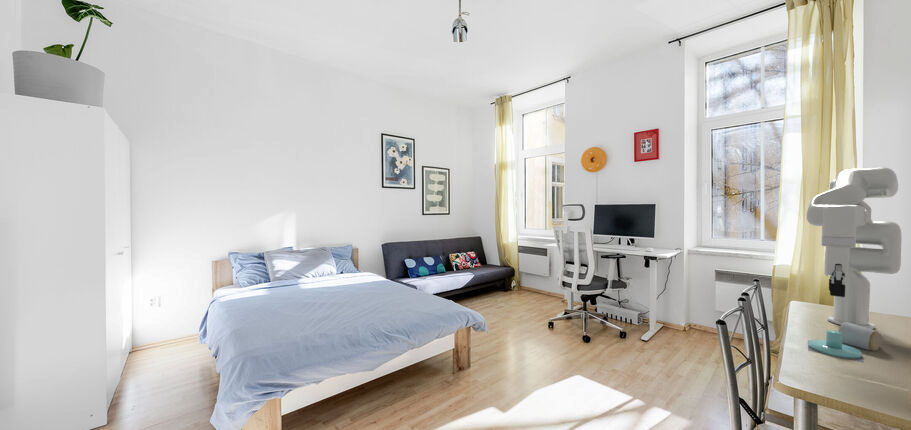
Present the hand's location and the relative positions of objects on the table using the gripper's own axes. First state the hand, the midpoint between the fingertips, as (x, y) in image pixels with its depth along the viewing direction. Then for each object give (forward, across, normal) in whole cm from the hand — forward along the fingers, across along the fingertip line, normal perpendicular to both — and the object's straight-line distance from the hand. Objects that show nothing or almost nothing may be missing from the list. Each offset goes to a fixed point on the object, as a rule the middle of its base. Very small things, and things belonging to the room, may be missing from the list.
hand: (836, 293), depth 113 cm
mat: (+20, 0, 0) cm, 20 cm away
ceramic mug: (+20, -13, +6) cm, 24 cm away
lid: (+19, 0, 0) cm, 19 cm away
